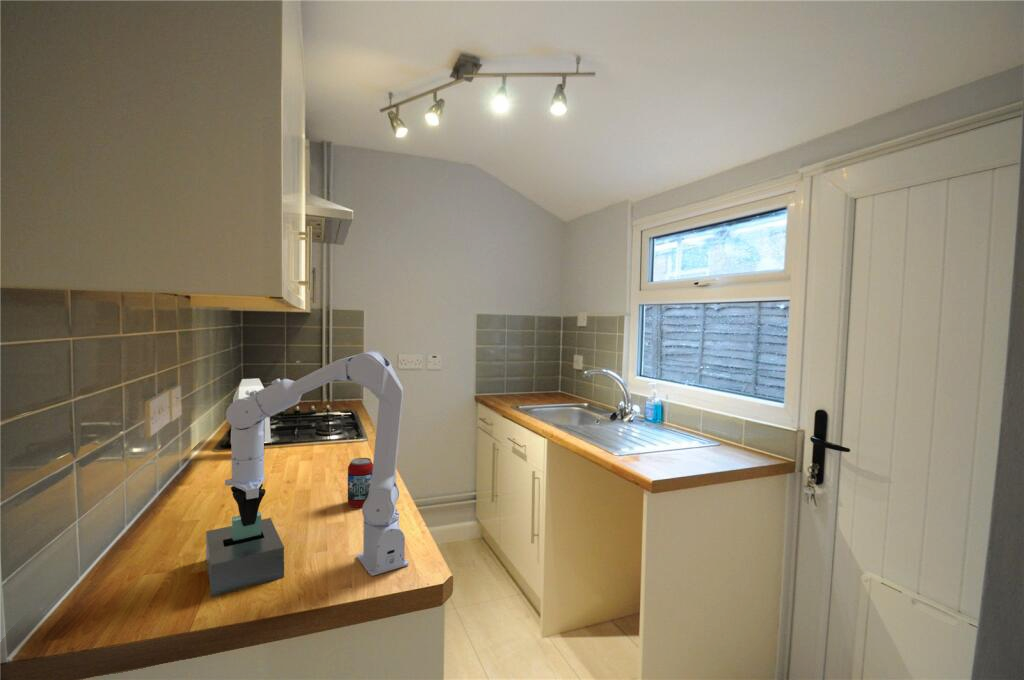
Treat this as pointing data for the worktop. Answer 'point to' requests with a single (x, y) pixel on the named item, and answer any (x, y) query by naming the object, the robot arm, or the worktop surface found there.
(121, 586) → the worktop surface
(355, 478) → the beverage can
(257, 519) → the teal rectangular brick
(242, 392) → the milk
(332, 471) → the worktop surface
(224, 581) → the coin box
